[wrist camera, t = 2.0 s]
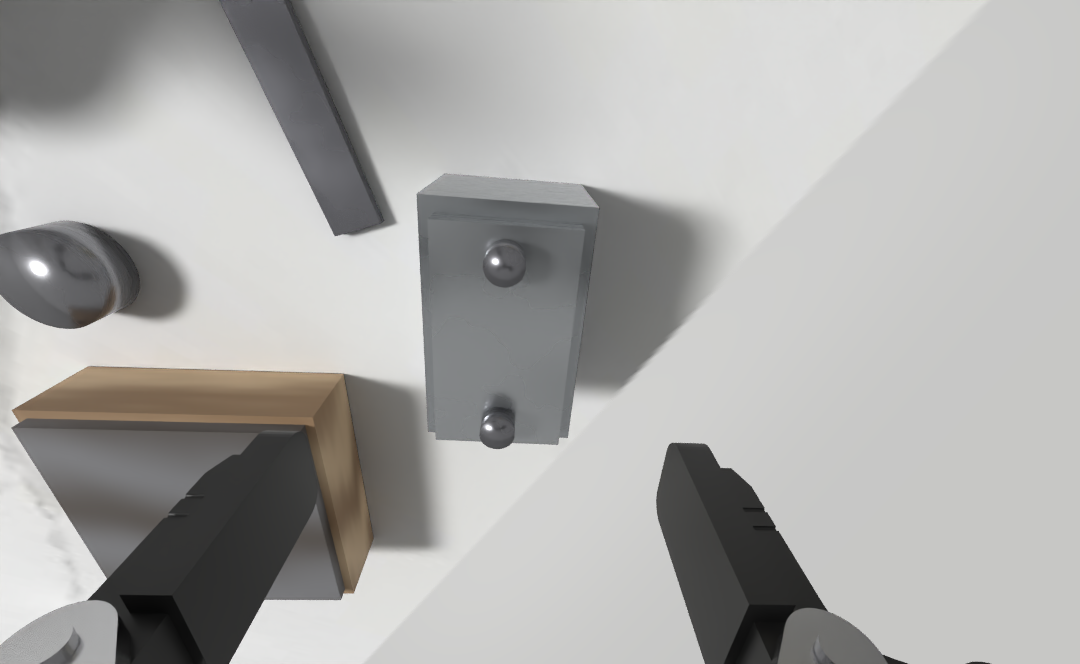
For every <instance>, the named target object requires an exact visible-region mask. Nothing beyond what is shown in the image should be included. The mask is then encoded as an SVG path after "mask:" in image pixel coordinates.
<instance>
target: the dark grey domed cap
mask: <svg viewBox="0 0 1080 664" xmlns="http://www.w3.org/2000/svg"><path fill="white" fill-rule="evenodd" d="M139 288H140V280H139V275H138V271H137V269H136V267H135V264H134V263H133V261H132V259H131V258H130V256H129V255H128V254H127V252H126V251H125V250H124V249H123V248H122V247H121V246H120V245H119V244H118V243H117V242H116V241H115V240H113V239H112V238H111V237H110V236H108V235H106V234H105V233H103V232H102V231H100V230H98V229H96V228H94V227H91V226H89V225H86V224H83V223H79V222H74V221H58V222H53V223H48V224H44V225H39V226H35V227H31V228H26V229H22V230H17V231H13V232H8V233H5V234H2V235H0V294H1V296H2V297H3V298H4V299H5V300H6V301H7V302H8V303H10V304H11V305H12V306H13V307H14V308H16V309H17V310H18V311H20V312H21V313H23V314H24V315H26V316H28V317H30V318H31V319H34V320H36V321H38V322H40V323H43V324H46V325H49V326H53V327H57V328H65V329H75V328H81V327H84V326H87V325H89V324H91V323H93V322H95V321H97V320H99V319H101V318H103V317H106V316H108V315H110V314H112V313H114V312H116V311H118V310H120V309H122V308H124V307H126V306H128V305H130V304H131V303H132V302H133V301H134V300H135V299H136V297H137V295H138V292H139Z"/></svg>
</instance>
